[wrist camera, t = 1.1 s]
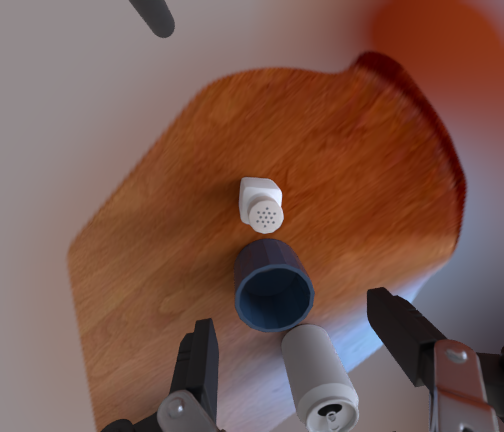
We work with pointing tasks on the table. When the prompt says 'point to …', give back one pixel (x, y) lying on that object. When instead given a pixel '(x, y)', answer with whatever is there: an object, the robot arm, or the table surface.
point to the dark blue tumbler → (271, 286)
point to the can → (319, 381)
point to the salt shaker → (260, 204)
